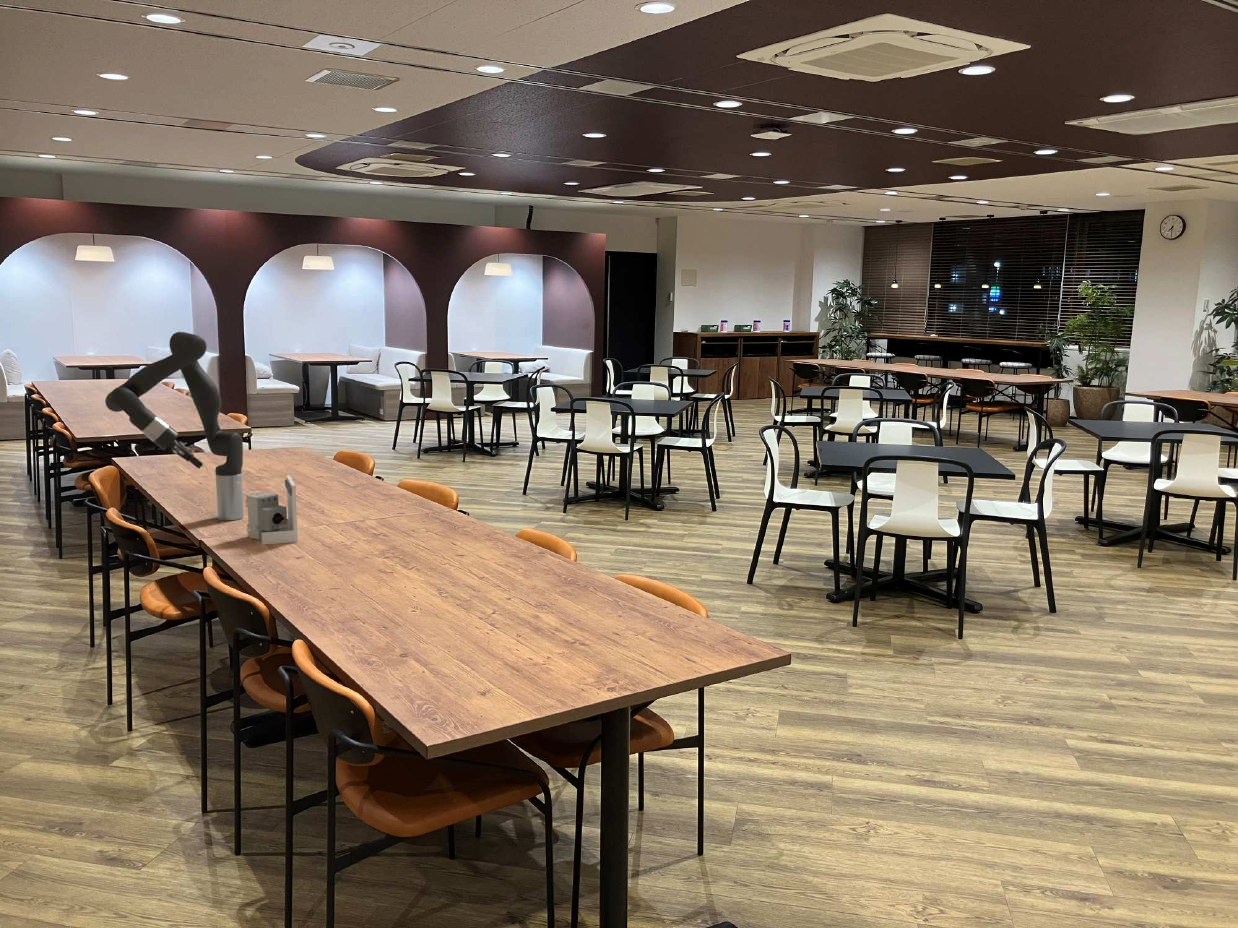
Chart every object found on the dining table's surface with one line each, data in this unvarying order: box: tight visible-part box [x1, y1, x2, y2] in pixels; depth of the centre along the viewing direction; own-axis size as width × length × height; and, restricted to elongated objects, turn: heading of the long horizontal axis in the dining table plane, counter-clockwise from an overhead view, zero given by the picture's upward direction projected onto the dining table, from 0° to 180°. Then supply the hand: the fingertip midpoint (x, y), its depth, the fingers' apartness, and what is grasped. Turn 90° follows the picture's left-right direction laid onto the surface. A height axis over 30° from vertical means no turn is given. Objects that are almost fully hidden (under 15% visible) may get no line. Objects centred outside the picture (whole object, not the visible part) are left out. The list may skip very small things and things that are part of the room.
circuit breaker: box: [245, 491, 288, 541], centre depth 346 cm, size 8×14×15 cm, turn 55°
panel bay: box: [261, 475, 299, 545], centre depth 347 cm, size 20×12×20 cm, turn 24°
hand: (201, 466), depth 341 cm, fingers closed
